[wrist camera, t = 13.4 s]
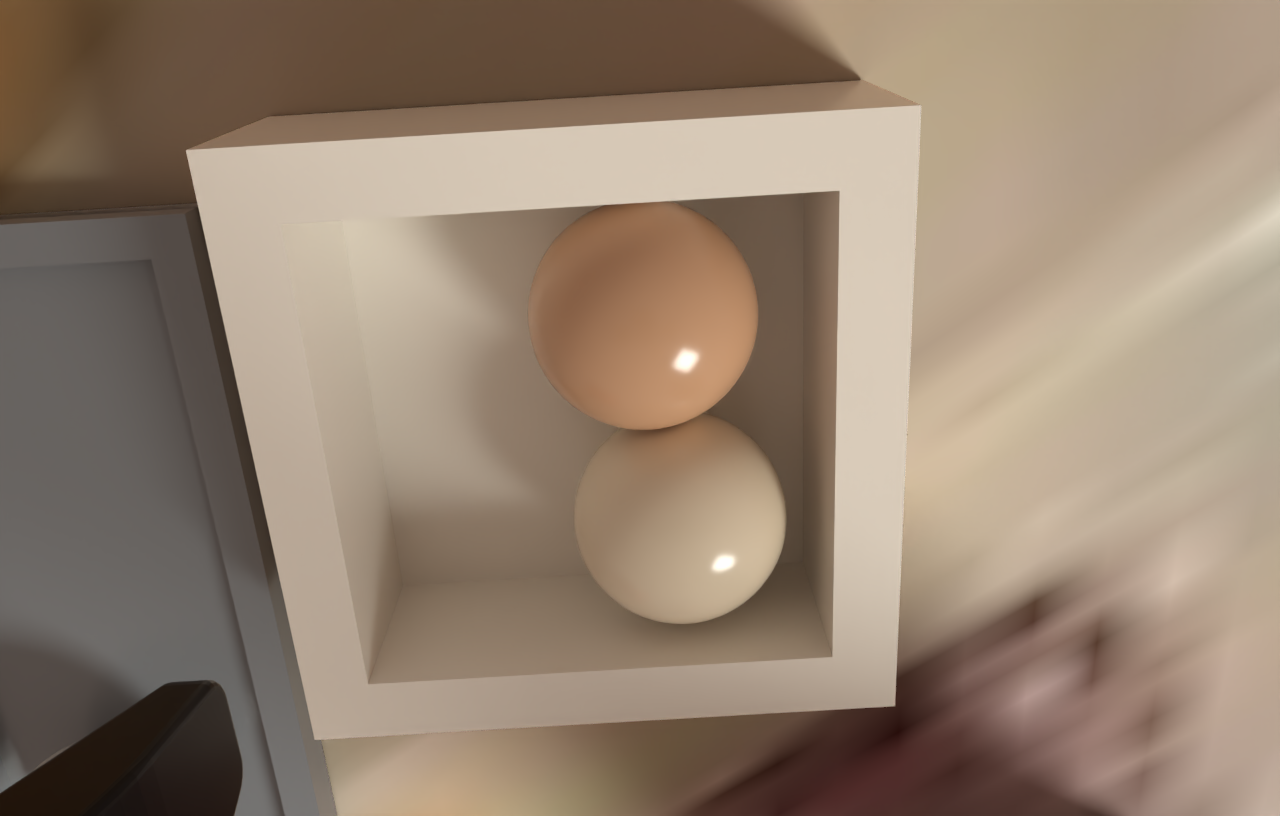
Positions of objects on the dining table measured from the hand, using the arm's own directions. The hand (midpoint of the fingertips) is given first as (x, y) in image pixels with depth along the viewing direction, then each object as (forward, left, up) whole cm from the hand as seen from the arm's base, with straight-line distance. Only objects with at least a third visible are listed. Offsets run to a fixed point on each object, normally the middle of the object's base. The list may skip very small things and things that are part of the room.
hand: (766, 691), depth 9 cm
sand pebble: (-4, +2, -12) cm, 12 cm away
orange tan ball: (0, +2, -12) cm, 12 cm away
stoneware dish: (-2, +2, -13) cm, 13 cm away
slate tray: (-6, +13, -13) cm, 19 cm away
